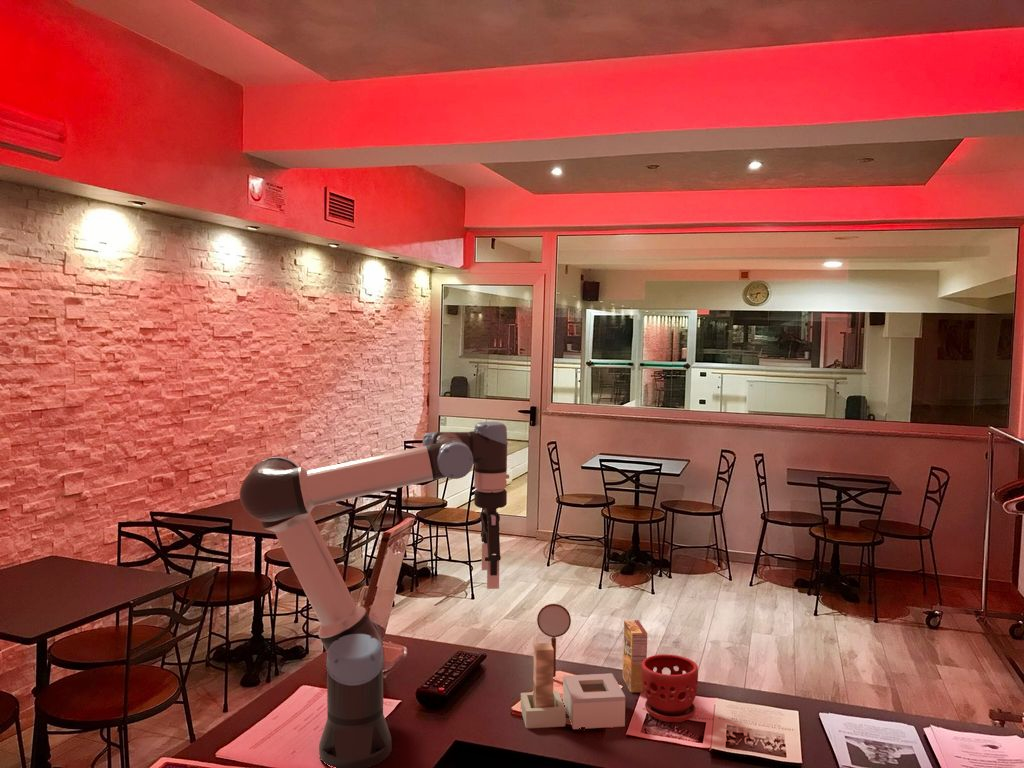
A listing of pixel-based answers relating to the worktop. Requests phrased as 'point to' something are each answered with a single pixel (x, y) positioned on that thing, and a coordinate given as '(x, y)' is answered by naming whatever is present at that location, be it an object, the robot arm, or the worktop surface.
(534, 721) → the cream square open box
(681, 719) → the plant pot
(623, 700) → the white box with opening
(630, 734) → the worktop surface
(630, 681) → the candy box
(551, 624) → the magnifying glass
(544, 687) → the wooden square peg
